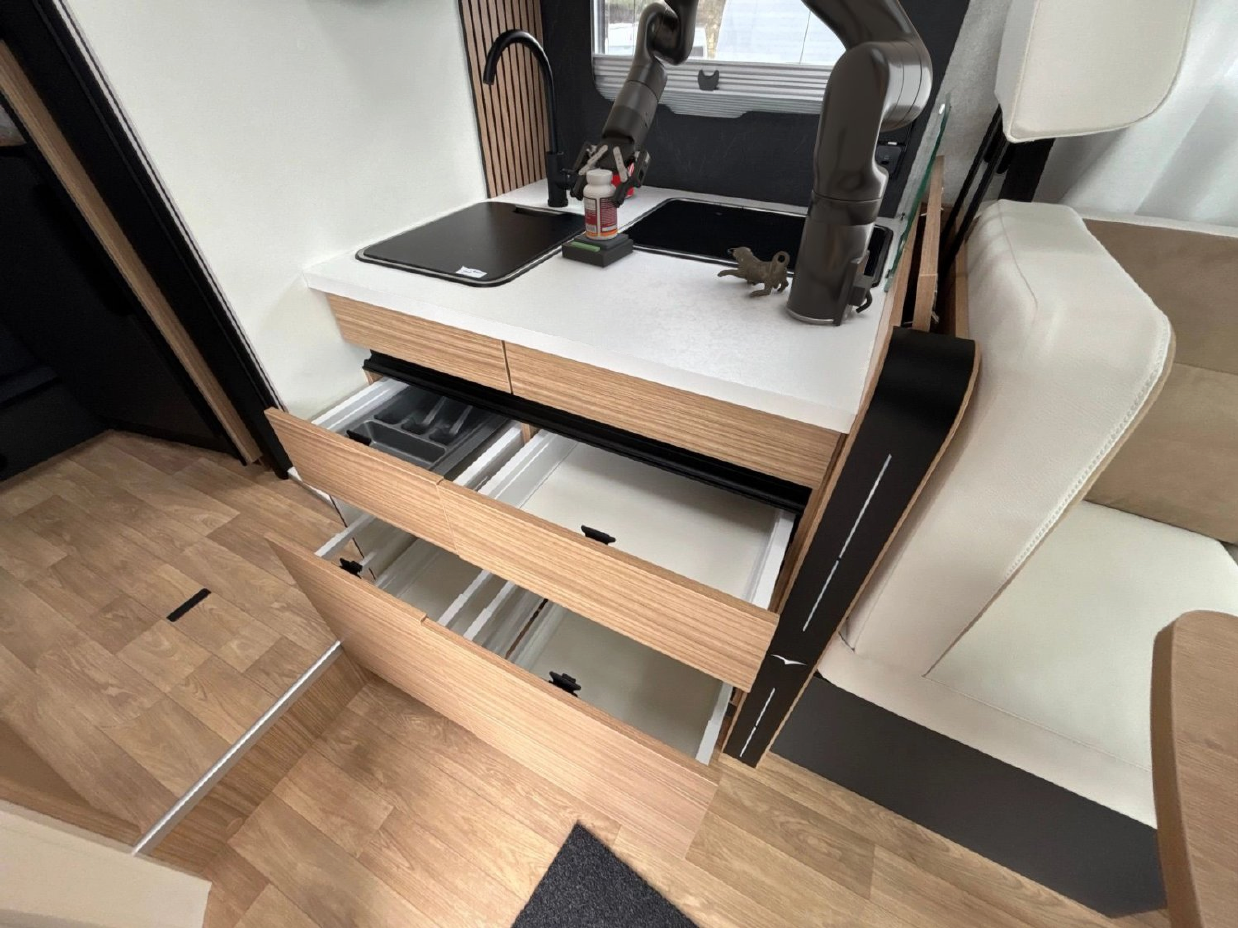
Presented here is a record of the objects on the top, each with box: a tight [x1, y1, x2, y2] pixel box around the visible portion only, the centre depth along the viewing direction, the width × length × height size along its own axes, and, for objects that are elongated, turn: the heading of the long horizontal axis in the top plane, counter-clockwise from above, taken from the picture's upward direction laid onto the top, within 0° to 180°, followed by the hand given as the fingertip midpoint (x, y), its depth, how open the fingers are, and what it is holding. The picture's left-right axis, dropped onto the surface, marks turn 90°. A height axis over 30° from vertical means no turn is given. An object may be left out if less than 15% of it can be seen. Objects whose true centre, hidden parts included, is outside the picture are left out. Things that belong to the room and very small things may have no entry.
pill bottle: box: [583, 169, 618, 240], centre depth 96 cm, size 6×6×11 cm
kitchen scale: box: [561, 231, 634, 269], centre depth 100 cm, size 10×10×3 cm
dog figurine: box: [716, 246, 791, 298], centre depth 86 cm, size 12×6×7 cm, turn 40°
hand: (595, 202), depth 95 cm, fingers open, 8 cm apart
